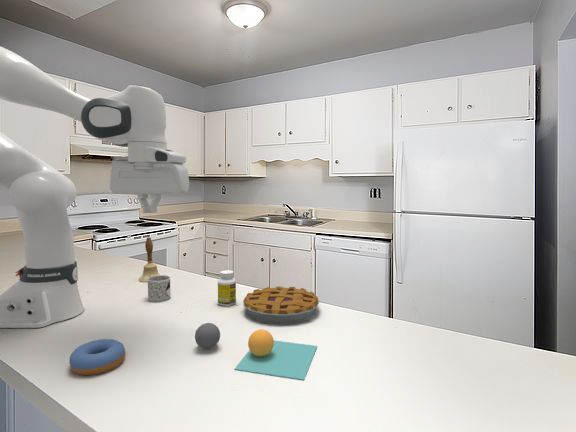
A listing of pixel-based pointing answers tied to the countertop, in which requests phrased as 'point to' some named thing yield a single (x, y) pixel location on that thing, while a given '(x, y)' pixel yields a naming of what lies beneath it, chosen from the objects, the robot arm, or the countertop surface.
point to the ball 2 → (261, 343)
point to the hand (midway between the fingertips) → (149, 212)
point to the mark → (280, 361)
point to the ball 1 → (207, 336)
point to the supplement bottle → (226, 288)
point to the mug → (159, 288)
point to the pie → (281, 304)
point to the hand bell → (149, 263)
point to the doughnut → (97, 357)
